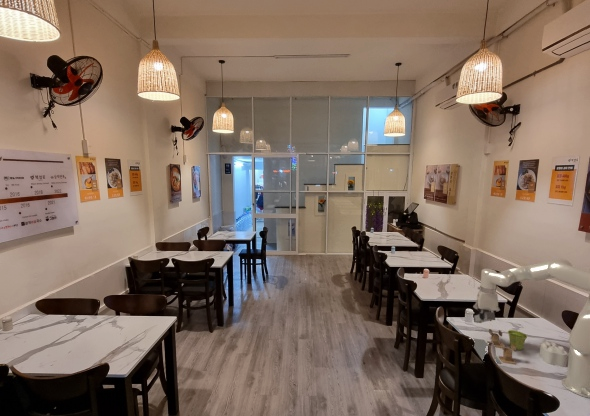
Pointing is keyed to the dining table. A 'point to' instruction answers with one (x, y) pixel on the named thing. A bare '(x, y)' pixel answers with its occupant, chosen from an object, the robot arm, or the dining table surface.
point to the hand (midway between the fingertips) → (485, 319)
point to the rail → (484, 317)
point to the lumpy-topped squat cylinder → (553, 354)
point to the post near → (507, 354)
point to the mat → (482, 349)
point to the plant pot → (517, 339)
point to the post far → (495, 338)
